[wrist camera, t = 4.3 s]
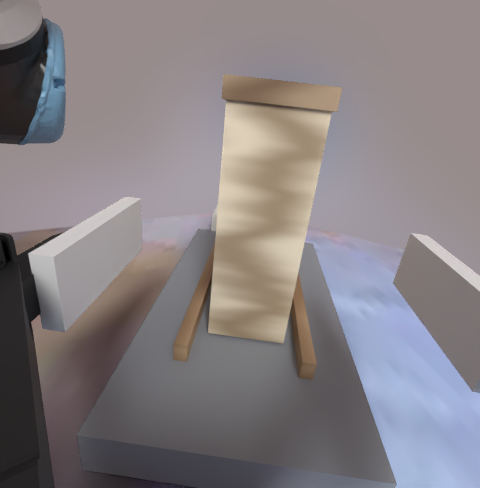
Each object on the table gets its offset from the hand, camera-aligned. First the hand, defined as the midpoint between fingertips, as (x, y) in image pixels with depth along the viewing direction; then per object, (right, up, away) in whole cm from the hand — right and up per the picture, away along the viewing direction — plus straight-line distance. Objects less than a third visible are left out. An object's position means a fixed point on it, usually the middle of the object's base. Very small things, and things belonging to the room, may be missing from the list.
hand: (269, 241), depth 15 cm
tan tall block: (-1, -5, +9) cm, 10 cm away
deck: (-1, -7, +11) cm, 13 cm away
